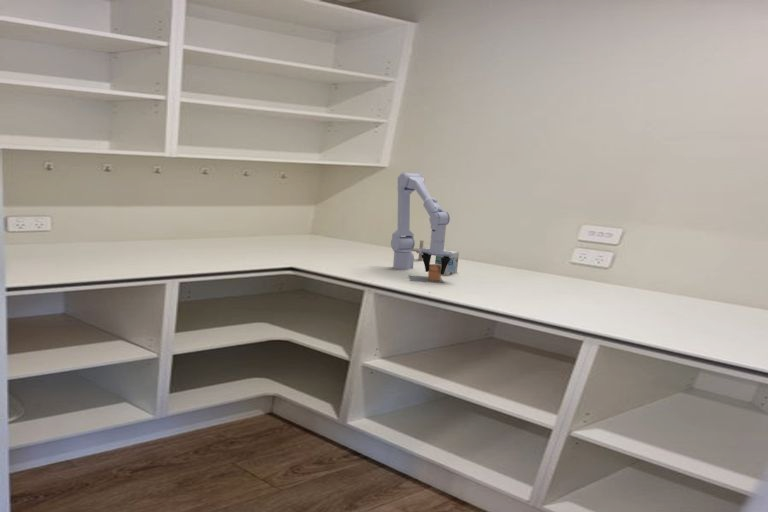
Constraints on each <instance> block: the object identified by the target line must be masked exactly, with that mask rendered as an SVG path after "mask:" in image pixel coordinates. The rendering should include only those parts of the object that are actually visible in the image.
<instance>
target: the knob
mask: <svg viewBox="0 0 768 512" xmlns="http://www.w3.org/2000/svg"><path fill="white" fill-rule="evenodd" d="M441 276H442V275H441V265H438V264H435V263H430V265H429V271H428V273H427V277H428V279H429V280H432V281H439V280H440V278H442V277H441Z"/></svg>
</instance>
